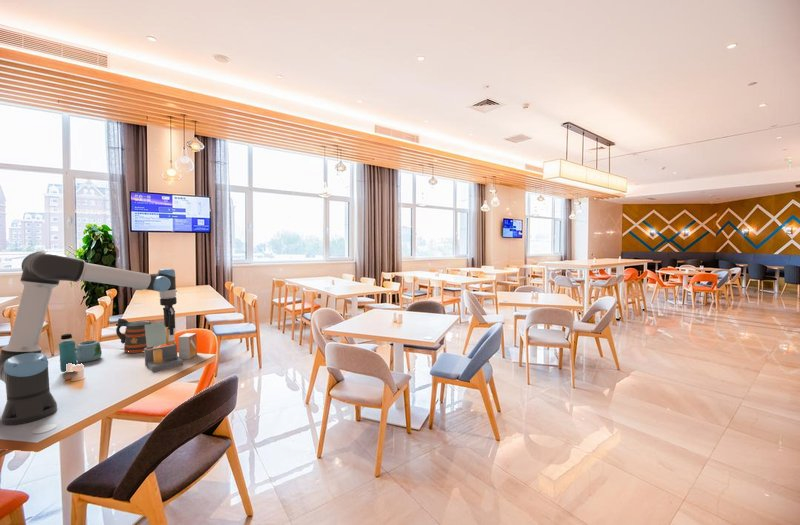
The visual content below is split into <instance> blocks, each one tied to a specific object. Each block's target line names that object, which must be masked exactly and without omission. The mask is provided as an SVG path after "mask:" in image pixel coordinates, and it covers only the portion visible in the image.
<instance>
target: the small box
mask: <svg viewBox="0 0 800 525" xmlns="http://www.w3.org/2000/svg"><path fill="white" fill-rule="evenodd" d="M197 335H198V334H197V333H195V332H186V333H184V334H181V335H180V336H178V337H177V340H178V341H177V342H178V343H177V345H178V357H179V358H181V359H182V360H190V359H192V358H194V357H195V356H197V355H198V341H197V340H198V339H197V338H198V337H197ZM196 354H197V355H196Z"/></svg>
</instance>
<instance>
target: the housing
mask: <svg viewBox="0 0 800 525" xmlns="http://www.w3.org/2000/svg"><path fill="white" fill-rule="evenodd" d="M143 353H144V365H145V366H146V367H147V368H148V369H149V370H150V372H157V371H162V370H166V369H169V368H175V367H178V366H183V364H184V362H183V361H184V359H181V358H179V355H178V343H177V342H176V341H175V344H171V345H163V346H158V347H153V349H148V350H147V348H144V352H143Z"/></svg>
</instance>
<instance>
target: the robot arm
mask: <svg viewBox="0 0 800 525" xmlns="http://www.w3.org/2000/svg"><path fill="white" fill-rule="evenodd" d="M21 270H22V273H21V277H20V279H19V280H20V282H21V283H22V284H23V288H22V289H23V290H22V292H21V296H20V301H19V305H18V307H17V308H18V309H17V312H16V314H15V315H16V316H15V318H14V322H13V326H12V329H11V334H10V338H9V341H8V343H7V344H6V345H5V346H3V347H1V349H0V350H1V351H0V380H1V381H2V382H3V383H4V384H5V392H6V393H5V394H6V403H5V405H4V409H3V412H2V414H1V423H2V424H3V425H6V426H14V425H22V424H26V423H31V422H34V421H37V420H40V419H44V418H46V417H49V416H50V415H52V414H54V413H55V412H57V410H58V403H57V401H56V399H55V397H54V396H53V394H52V393H51V390H50V389H51V388H50V378H49V377H50V376H49V360H48V357H47V355H46V354H45V353H42V349H43V348H42V347H41V346H40V345H39V343H40V338H41V334H42V332H43V326H44V323H45V319H46V315H47V312H48V311H47V310H48V309H49V308H48V307H49V303H50V300H51V296H52V292H53V289H54V288H56V287H58V286H59V284H60V281H61V282H64V281H66V282H73V283H74V282H75V283H76V282H79V281H85V282H92V283H99V284H107V285H112V286H113V285H114V286H120V287H127V288H133V290H135V291H142V290H146V291H155V292H159V298H160V299H159V303H160V306H162V307H163V306H164V307H163V308H162V310H163V322H164V325H165V327H168V328H167V330H168V341H173V340H175V339H176V337H175V338H174V335H175V329H176V314H175V313H176V311H175V307H173V306H174V305H176V304H177V302H178V301H177V297H176V296H177V292H178V290H177V289H176V288H177V286H176V282H177V281H176V278H177V277H176V271H175V269H173V268H161V269H158V272H157V273H145V272H140V271H134V270H129V269H123V268H117V267H111V266H107V265H106V266H105V265H101V264H95V263H89V262H86V261H85V260H84V259H81V258H75V257H73V256H68V255H66V254H62V253H58V252H53V251H44V250H41V251H39V250H38V251H35V252H32V253H30V254H28V255H27V256H25V257H24V258H23V260H22V261H21ZM175 341H176V340H175Z"/></svg>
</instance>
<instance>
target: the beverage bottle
mask: <svg viewBox="0 0 800 525" xmlns="http://www.w3.org/2000/svg"><path fill="white" fill-rule="evenodd" d="M72 338H73V335H72V334H71V333H65V334H61V336H60V339H61V341H60V342H59V344H58V352H59V365H60V372H62V373H66V372H65V371H66V364H68V363H72V364H75V365H76V364H77V365H78V361H77V360H76V357H77V356H76V348H77V346H76V341H75V340H74V339H72Z"/></svg>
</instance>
